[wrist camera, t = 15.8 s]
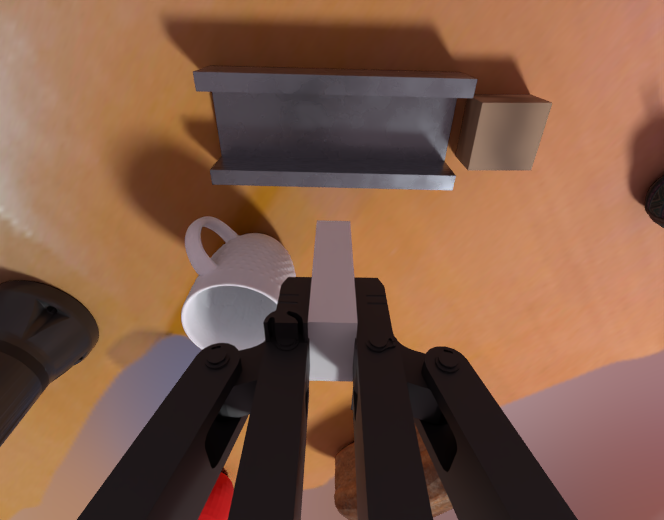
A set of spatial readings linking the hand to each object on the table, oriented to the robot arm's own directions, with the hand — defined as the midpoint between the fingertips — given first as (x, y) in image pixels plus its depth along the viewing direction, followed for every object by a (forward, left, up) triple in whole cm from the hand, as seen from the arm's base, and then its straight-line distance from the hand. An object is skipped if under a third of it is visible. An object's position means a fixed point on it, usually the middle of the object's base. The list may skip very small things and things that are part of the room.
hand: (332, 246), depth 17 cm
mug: (-10, -16, -25) cm, 31 cm away
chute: (0, 0, -24) cm, 24 cm away
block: (+16, 0, -25) cm, 30 cm away
